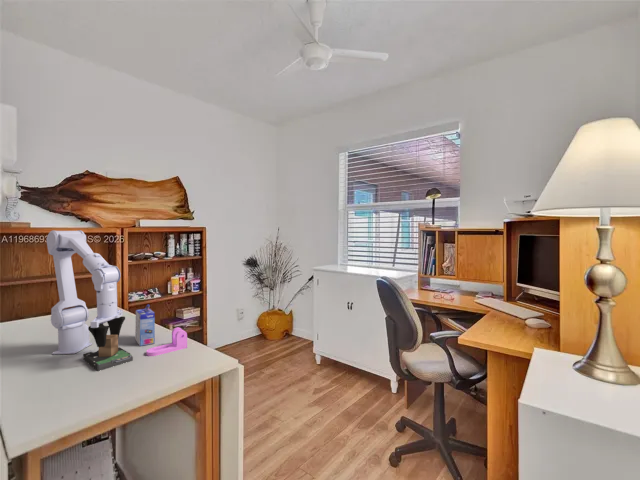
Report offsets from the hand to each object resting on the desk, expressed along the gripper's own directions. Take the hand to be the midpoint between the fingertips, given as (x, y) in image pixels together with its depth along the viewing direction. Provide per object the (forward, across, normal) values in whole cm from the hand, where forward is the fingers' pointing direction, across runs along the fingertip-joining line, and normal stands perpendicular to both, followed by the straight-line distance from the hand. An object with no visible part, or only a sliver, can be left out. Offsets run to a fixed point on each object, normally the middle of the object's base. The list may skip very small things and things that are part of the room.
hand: (108, 342), depth 106 cm
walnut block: (+4, 0, 0) cm, 4 cm away
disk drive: (+7, 0, 0) cm, 7 cm away
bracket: (+6, +7, -16) cm, 19 cm away
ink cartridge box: (+6, +17, -4) cm, 19 cm away
